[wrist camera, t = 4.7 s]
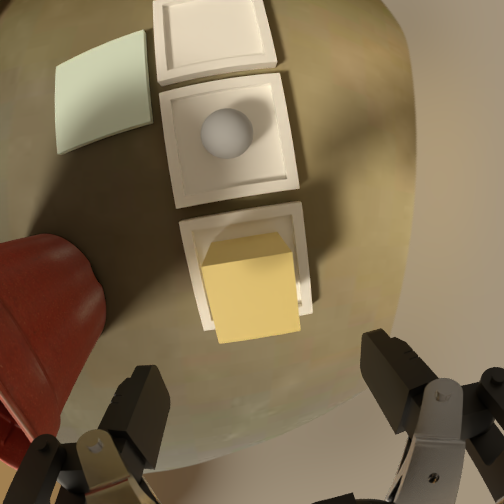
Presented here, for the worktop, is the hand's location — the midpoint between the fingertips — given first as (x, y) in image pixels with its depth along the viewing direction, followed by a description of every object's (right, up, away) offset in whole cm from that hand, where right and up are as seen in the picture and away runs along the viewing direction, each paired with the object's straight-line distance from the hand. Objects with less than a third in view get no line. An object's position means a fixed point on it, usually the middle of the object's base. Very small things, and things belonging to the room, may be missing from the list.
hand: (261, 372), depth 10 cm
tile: (-13, +18, +8) cm, 24 cm away
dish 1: (-4, +22, +7) cm, 24 cm away
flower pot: (-19, 0, +12) cm, 23 cm away
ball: (-2, +13, +9) cm, 16 cm away
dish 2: (-2, +13, +10) cm, 16 cm away
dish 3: (-1, +3, +12) cm, 13 cm away
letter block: (-1, +3, +12) cm, 12 cm away
